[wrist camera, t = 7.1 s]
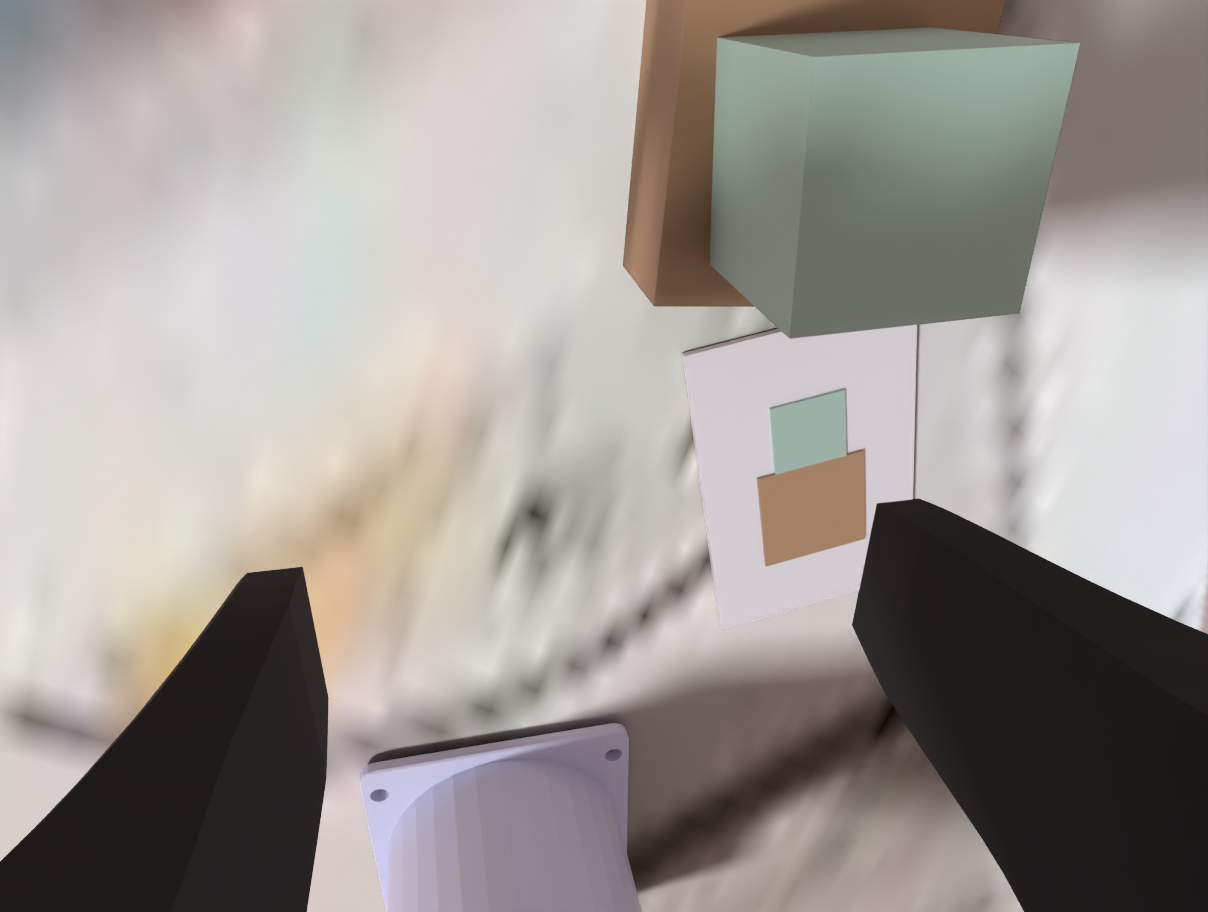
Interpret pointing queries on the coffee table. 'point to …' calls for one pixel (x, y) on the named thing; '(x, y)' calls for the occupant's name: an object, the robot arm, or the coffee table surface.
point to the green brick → (883, 173)
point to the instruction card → (798, 460)
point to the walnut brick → (686, 121)
